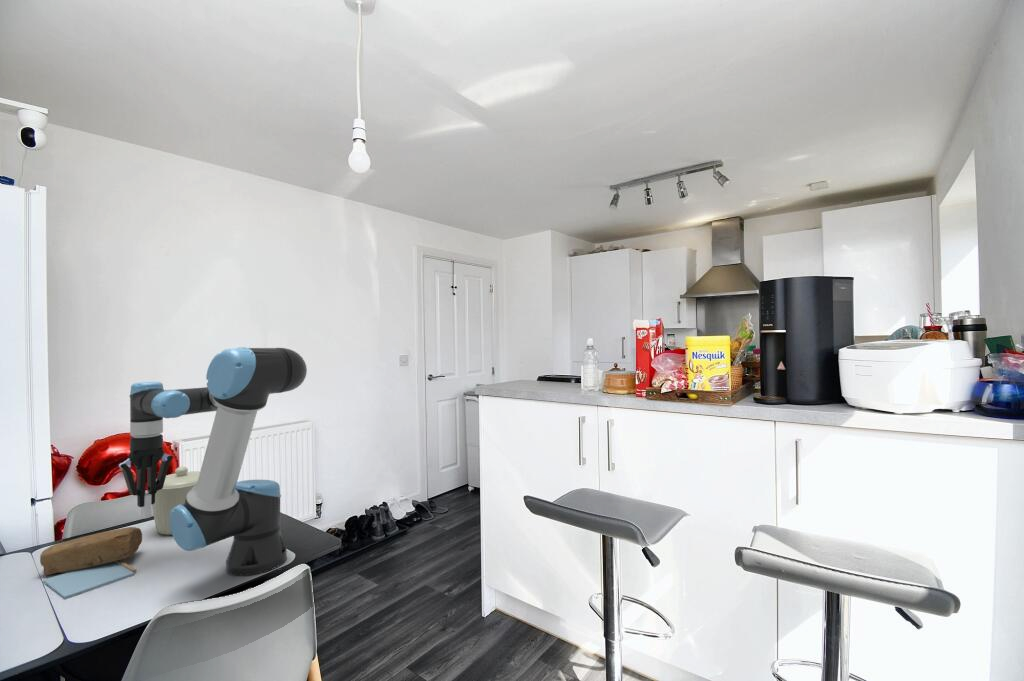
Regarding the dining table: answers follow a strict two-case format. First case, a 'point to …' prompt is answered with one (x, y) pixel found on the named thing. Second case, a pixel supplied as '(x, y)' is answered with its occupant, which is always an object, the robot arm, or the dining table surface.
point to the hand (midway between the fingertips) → (146, 516)
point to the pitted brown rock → (91, 550)
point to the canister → (172, 496)
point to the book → (89, 578)
